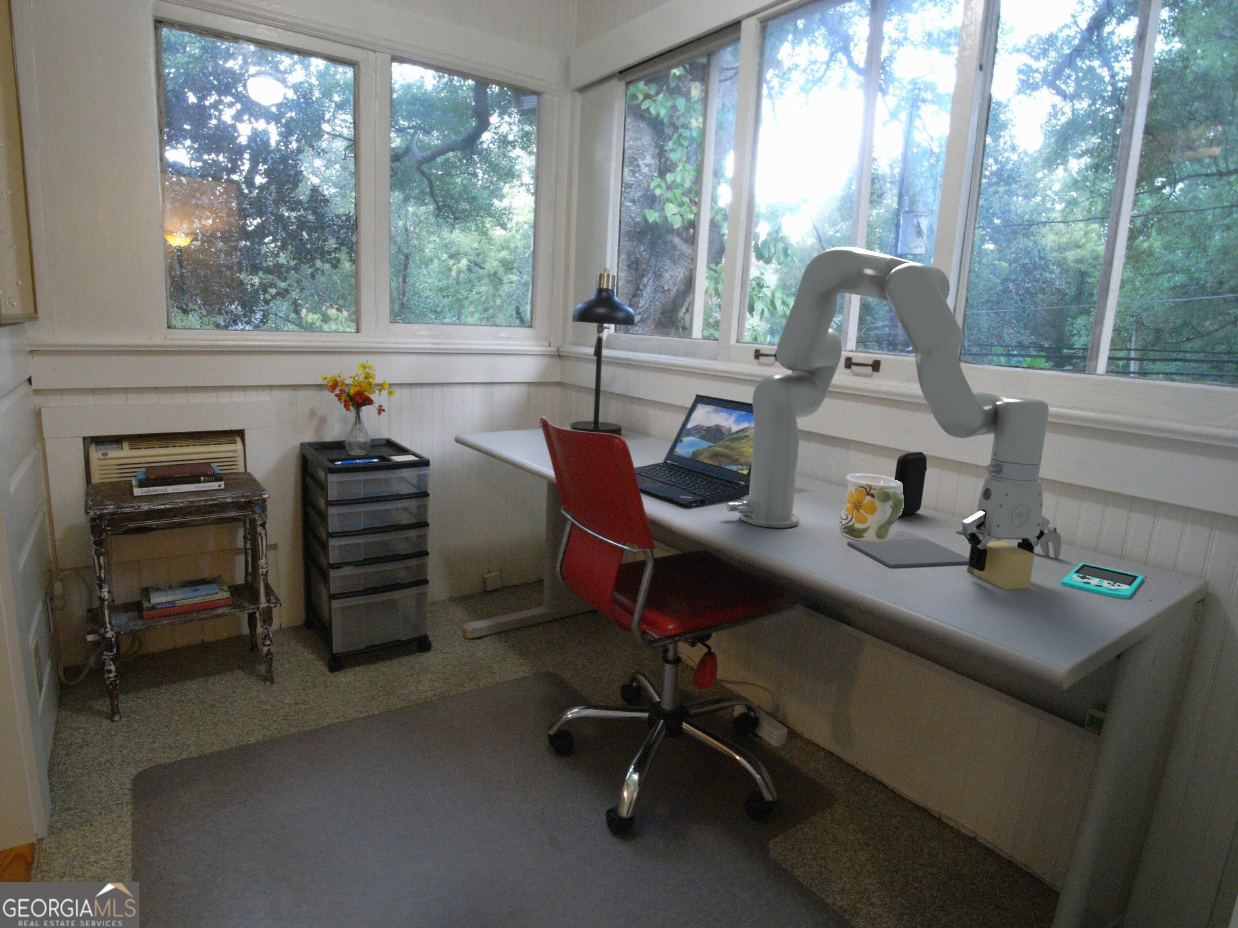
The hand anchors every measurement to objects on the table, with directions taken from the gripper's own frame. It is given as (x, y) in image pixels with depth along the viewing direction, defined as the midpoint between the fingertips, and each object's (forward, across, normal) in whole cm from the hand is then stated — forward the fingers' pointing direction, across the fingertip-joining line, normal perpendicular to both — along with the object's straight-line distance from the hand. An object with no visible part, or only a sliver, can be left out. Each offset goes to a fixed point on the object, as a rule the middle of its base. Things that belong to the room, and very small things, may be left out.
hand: (999, 567), depth 129 cm
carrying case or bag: (+2, +12, +42) cm, 44 cm away
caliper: (+3, +18, +18) cm, 26 cm away
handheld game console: (+3, +19, -4) cm, 19 cm away
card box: (+2, 0, 0) cm, 2 cm away
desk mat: (+2, -7, +15) cm, 17 cm away
